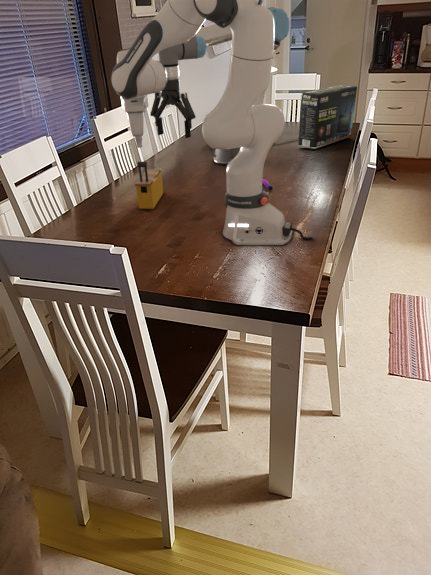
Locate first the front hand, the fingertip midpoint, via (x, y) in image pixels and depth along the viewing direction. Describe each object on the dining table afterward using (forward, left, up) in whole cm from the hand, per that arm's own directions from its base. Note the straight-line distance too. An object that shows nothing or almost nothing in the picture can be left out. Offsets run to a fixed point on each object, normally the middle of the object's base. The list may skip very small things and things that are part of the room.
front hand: (139, 144), depth 161 cm
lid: (+1, -6, -14) cm, 16 cm away
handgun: (-35, -34, -23) cm, 54 cm away
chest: (+1, -7, -23) cm, 24 cm away
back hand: (-2, -28, -4) cm, 28 cm away
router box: (-57, -105, -23) cm, 122 cm away
